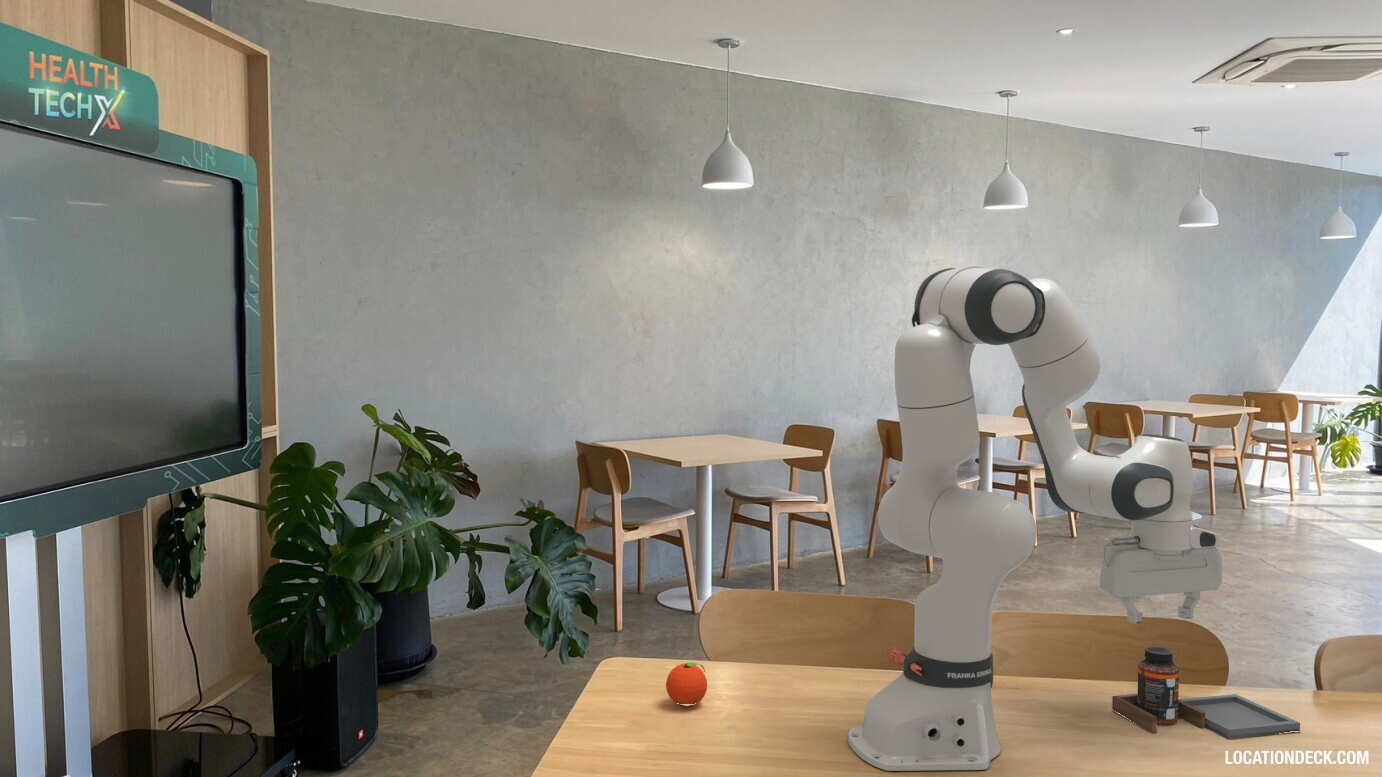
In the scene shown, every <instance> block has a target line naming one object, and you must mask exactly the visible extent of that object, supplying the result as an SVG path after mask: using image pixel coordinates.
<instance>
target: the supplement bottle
mask: <svg viewBox="0 0 1382 777" xmlns="http://www.w3.org/2000/svg"><path fill="white" fill-rule="evenodd" d="M1144 657H1145V659H1142V660H1140V661H1139V662H1138V666H1137V694H1138V703H1137V707H1139V708H1141V709H1143V710H1145V711H1147V712H1149V713H1150V714H1152V715H1154V716H1156V717H1157V725H1160V726H1161V725H1162V726H1163V725H1164V726H1170V725H1174V724H1176V723H1177V722H1178V719H1179V717H1178V699H1179V686H1180V683H1179V682H1180V679H1179V678H1180V674H1179V673H1180V672H1179V671H1180V670H1179V667H1178V666H1177V665H1176V664H1175V663H1174V662H1173V660H1174V659H1173V651H1172V650H1171V649H1168V648H1164V647H1159V646H1148V647H1146V648H1144Z"/></svg>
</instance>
